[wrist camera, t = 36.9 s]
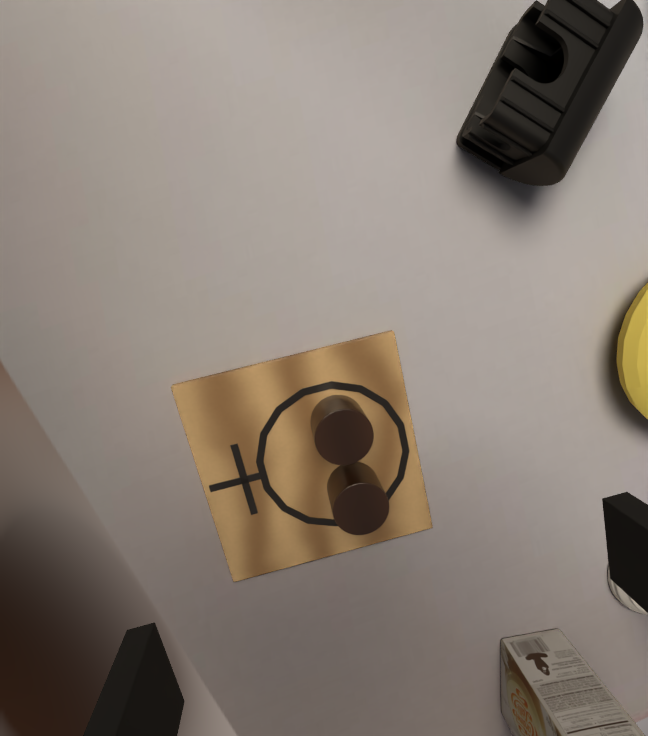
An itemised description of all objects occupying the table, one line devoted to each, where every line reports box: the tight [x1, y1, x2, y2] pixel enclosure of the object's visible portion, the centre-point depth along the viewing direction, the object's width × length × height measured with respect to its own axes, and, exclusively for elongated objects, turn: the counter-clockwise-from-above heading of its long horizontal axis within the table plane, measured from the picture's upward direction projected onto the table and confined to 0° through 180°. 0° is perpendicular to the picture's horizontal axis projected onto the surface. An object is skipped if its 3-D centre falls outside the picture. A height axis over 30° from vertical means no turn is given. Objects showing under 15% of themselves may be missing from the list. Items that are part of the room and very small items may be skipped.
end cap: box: [457, 0, 643, 186], centre depth 31 cm, size 10×7×7 cm
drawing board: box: [171, 330, 432, 582], centre depth 38 cm, size 18×18×1 cm
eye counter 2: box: [310, 395, 374, 465], centre depth 35 cm, size 4×4×4 cm
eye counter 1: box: [327, 462, 389, 535], centre depth 36 cm, size 4×4×4 cm
